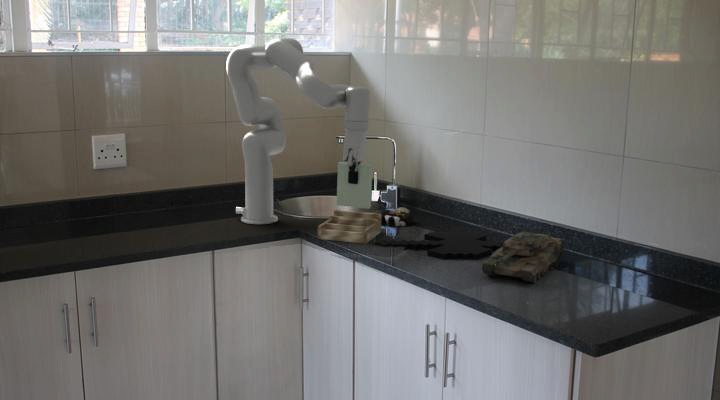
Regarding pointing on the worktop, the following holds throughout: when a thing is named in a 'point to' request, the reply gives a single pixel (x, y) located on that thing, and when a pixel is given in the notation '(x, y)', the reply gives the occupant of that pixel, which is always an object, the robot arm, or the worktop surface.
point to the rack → (350, 227)
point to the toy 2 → (526, 256)
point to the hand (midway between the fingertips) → (354, 182)
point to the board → (354, 187)
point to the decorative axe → (449, 245)
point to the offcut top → (351, 221)
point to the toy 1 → (396, 217)
